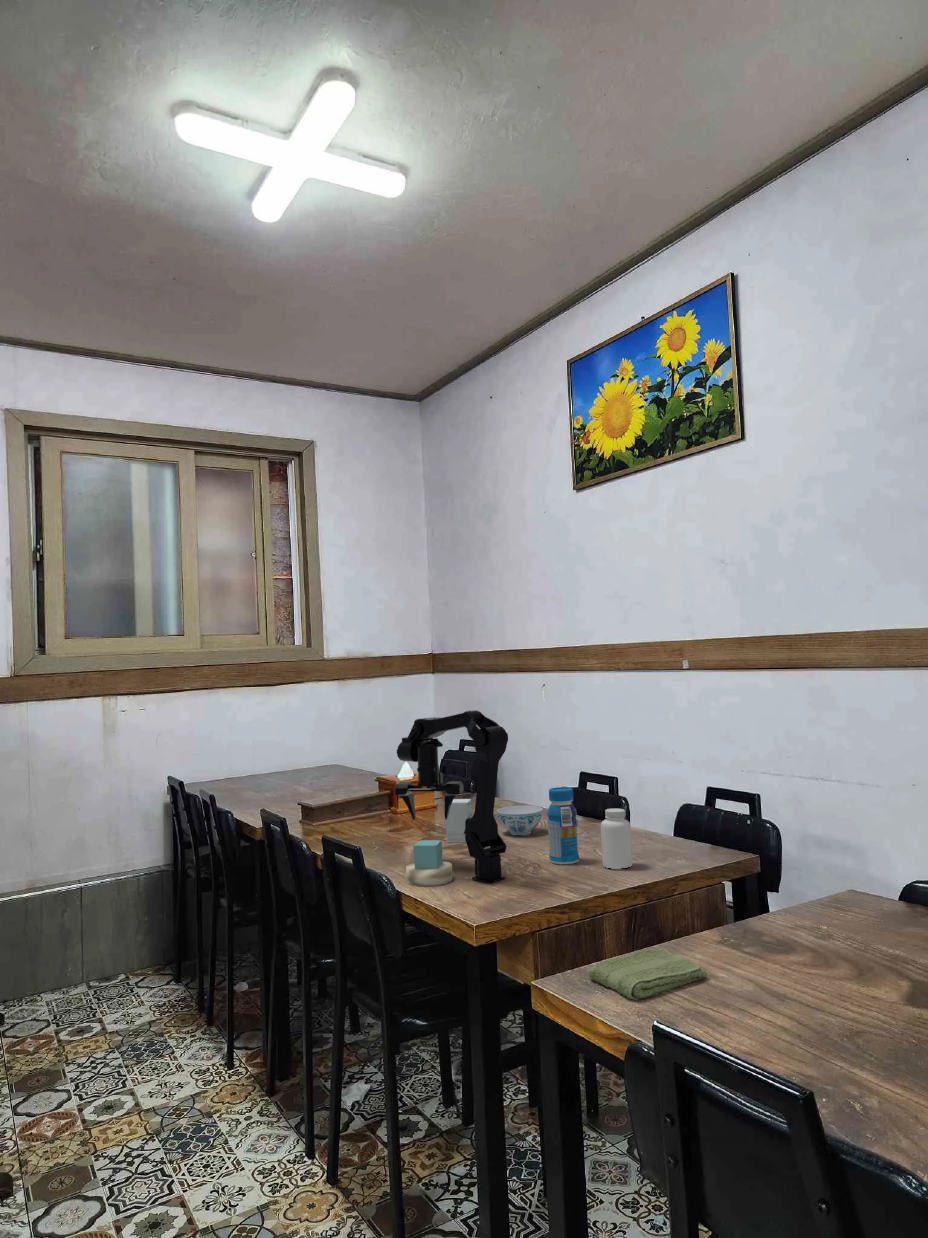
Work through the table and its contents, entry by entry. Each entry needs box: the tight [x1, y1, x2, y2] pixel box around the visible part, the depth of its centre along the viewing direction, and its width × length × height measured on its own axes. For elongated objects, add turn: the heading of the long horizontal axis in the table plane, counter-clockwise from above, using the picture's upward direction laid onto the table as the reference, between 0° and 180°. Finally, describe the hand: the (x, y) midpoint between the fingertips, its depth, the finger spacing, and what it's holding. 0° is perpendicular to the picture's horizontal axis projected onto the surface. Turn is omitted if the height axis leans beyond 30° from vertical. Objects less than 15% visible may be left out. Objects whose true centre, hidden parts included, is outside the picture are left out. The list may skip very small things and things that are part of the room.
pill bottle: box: [600, 808, 633, 870], centre depth 217 cm, size 8×8×15 cm
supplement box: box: [445, 798, 473, 844], centre depth 258 cm, size 7×7×13 cm
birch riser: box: [405, 860, 454, 887], centre depth 211 cm, size 12×12×4 cm
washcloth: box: [587, 947, 709, 1001], centre depth 140 cm, size 13×18×3 cm
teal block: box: [413, 839, 443, 869], centre depth 211 cm, size 6×6×6 cm
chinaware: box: [496, 805, 544, 836], centre depth 264 cm, size 15×15×8 cm
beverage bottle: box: [546, 786, 580, 865], centre depth 225 cm, size 8×8×20 cm
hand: (430, 819), depth 226 cm, fingers open, 9 cm apart
